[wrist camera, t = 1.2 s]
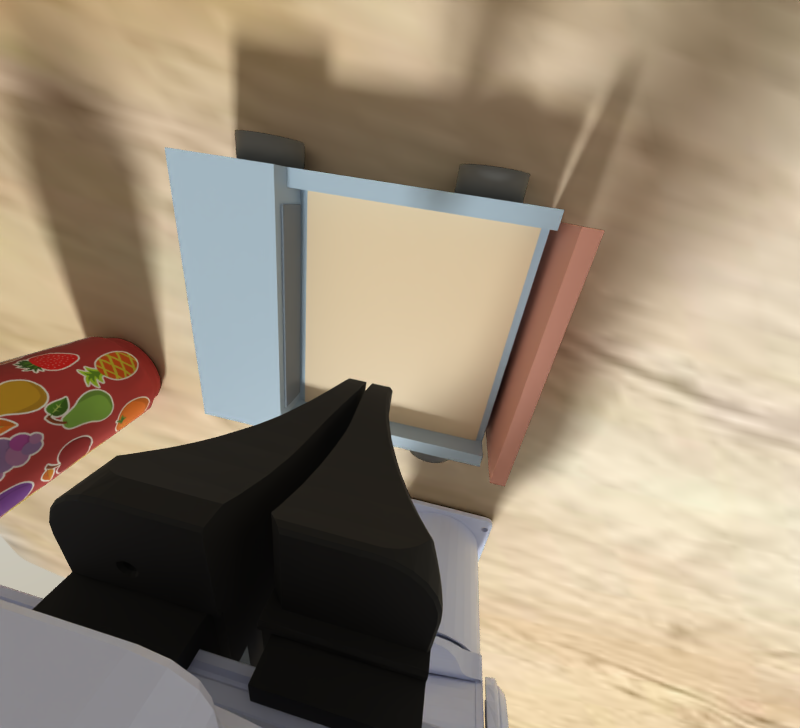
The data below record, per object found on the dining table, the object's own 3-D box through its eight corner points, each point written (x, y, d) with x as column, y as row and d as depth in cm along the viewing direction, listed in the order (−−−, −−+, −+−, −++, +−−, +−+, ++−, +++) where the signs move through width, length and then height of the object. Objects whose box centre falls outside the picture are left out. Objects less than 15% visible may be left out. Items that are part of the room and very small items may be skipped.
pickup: (473, 441, 24) (474, 495, 19) (251, 389, 26) (205, 428, 21) (553, 182, 16) (584, 173, 12) (233, 135, 18) (156, 112, 14)
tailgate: (497, 426, 23) (504, 486, 18) (485, 423, 23) (489, 482, 18) (565, 223, 17) (604, 230, 12) (549, 220, 17) (582, 227, 12)
